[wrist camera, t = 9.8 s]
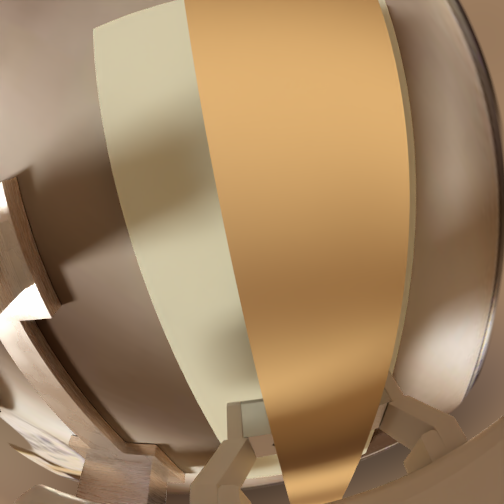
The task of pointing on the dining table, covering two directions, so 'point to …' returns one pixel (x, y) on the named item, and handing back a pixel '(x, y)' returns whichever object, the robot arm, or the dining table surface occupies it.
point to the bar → (310, 213)
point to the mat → (189, 204)
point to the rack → (57, 379)
